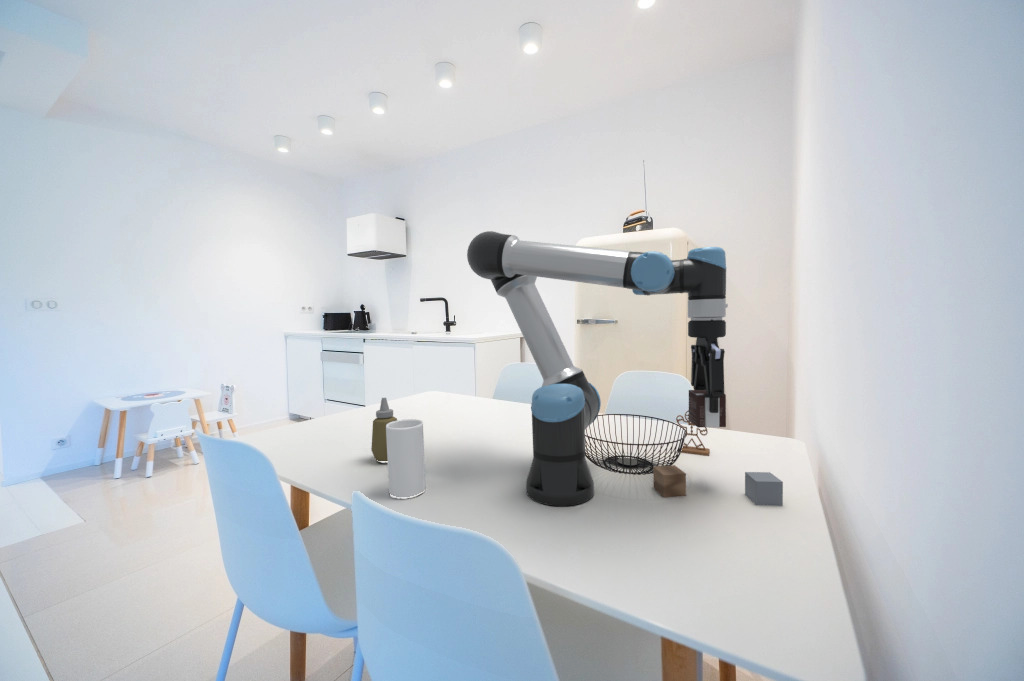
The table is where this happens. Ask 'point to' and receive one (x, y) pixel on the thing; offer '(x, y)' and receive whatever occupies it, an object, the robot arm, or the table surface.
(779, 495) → the grey block
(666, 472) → the walnut block
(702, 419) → the box
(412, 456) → the cup
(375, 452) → the squeeze bottle
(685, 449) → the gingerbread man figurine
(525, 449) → the table surface
